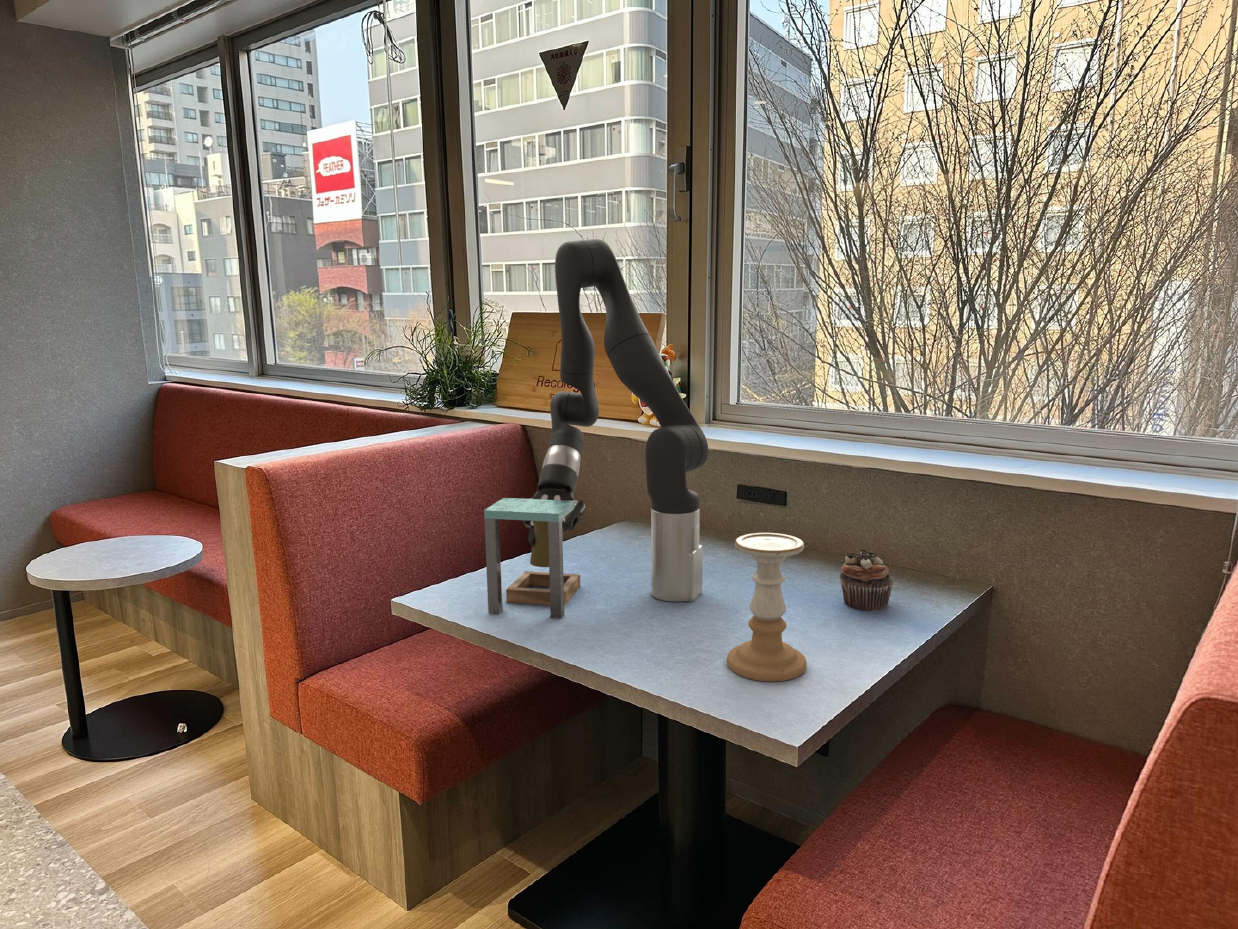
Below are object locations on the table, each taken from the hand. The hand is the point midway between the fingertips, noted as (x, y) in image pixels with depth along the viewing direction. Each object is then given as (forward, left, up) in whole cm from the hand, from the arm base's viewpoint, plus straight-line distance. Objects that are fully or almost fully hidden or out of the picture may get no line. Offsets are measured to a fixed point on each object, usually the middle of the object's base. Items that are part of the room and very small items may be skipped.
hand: (543, 545), depth 165 cm
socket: (0, 0, -10) cm, 10 cm away
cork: (+1, -2, -4) cm, 5 cm away
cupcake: (-59, -17, -10) cm, 62 cm away
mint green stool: (-1, +7, -10) cm, 12 cm away
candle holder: (-48, +17, -10) cm, 52 cm away
